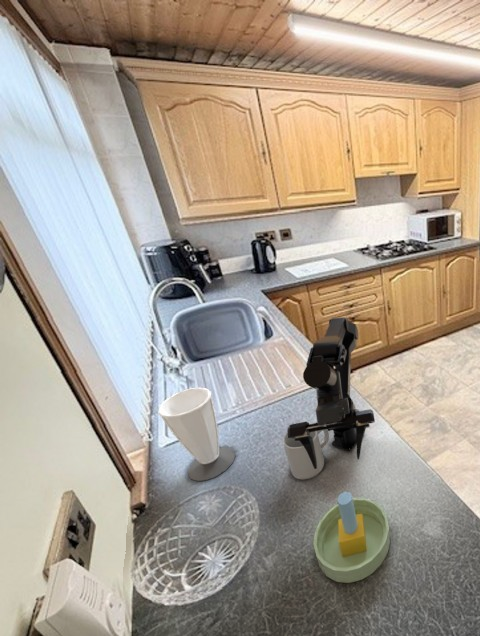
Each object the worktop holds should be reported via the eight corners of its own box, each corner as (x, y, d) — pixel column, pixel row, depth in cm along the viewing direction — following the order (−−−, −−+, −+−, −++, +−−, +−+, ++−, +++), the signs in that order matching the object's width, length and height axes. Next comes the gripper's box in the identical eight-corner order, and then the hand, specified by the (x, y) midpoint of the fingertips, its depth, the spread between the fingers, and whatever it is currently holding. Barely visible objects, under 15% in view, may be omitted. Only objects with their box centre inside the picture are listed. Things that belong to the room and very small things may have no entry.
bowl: (346, 501, 83) (343, 488, 81) (402, 525, 77) (401, 512, 75) (302, 564, 71) (297, 551, 69) (365, 598, 65) (362, 585, 63)
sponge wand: (341, 534, 75) (331, 490, 69) (364, 528, 76) (356, 484, 70) (342, 557, 71) (331, 513, 65) (367, 550, 72) (358, 506, 66)
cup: (217, 442, 102) (193, 382, 93) (244, 454, 97) (221, 393, 88) (178, 472, 93) (146, 409, 83) (205, 487, 88) (175, 422, 79)
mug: (304, 485, 87) (295, 454, 83) (284, 470, 92) (275, 439, 87) (341, 454, 96) (334, 424, 91) (321, 441, 101) (314, 412, 96)
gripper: (278, 396, 72) (284, 477, 67) (368, 380, 75) (380, 455, 71) (290, 402, 82) (296, 472, 77) (369, 388, 86) (379, 454, 81)
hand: (337, 464), depth 76 cm, fingers open, 9 cm apart
